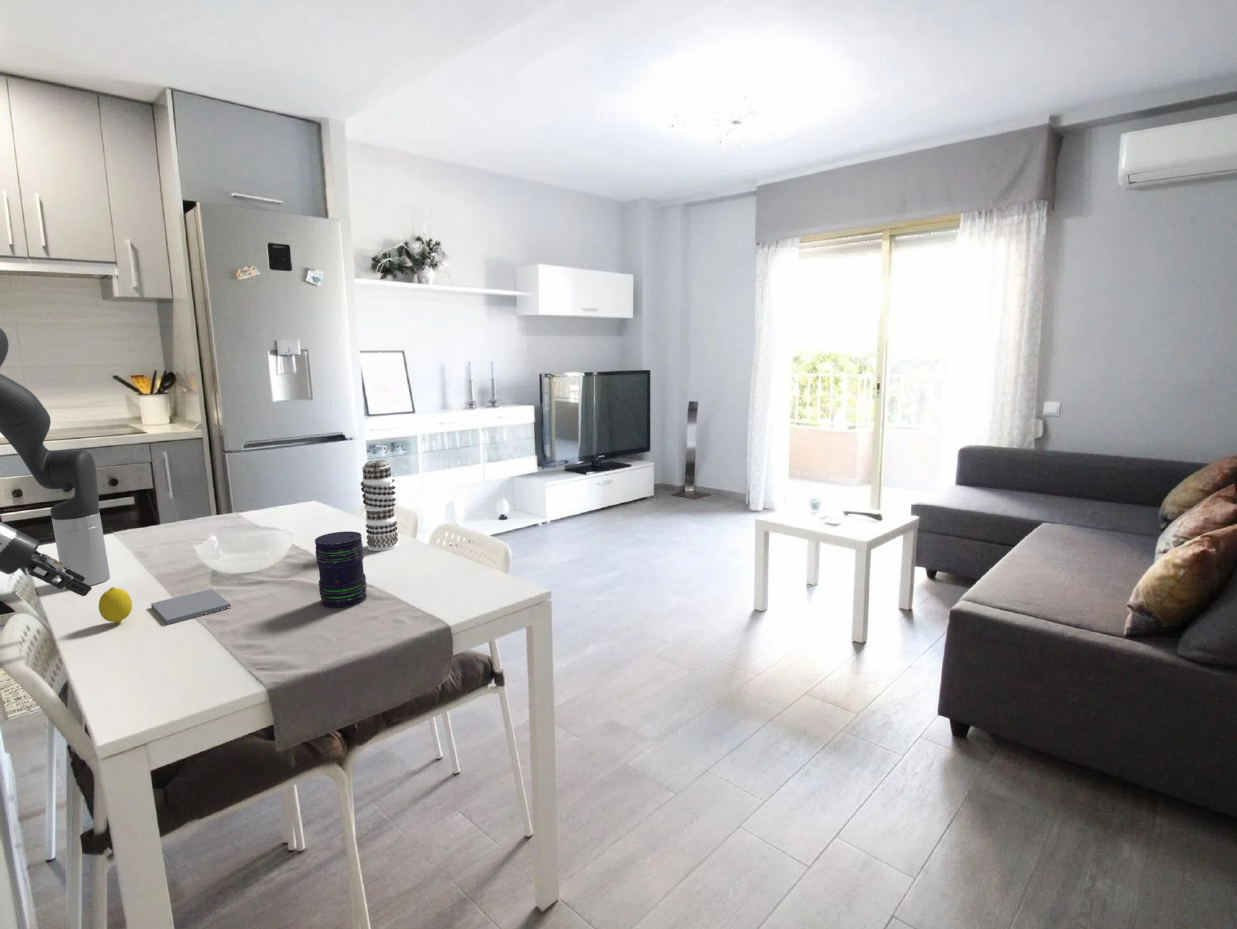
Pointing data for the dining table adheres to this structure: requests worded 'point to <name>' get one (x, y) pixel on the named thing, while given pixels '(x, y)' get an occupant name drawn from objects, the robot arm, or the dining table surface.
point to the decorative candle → (379, 505)
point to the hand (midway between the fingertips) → (84, 586)
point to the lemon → (115, 605)
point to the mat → (189, 606)
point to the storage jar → (341, 569)
